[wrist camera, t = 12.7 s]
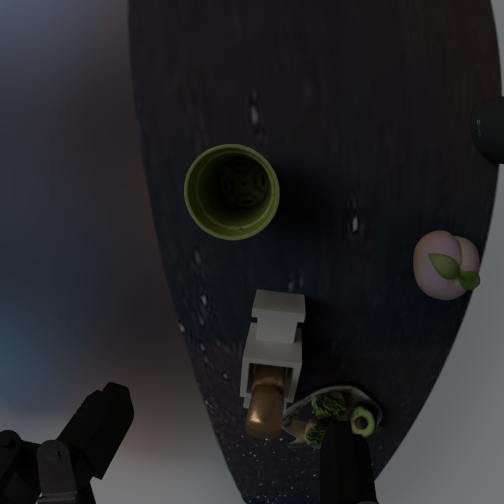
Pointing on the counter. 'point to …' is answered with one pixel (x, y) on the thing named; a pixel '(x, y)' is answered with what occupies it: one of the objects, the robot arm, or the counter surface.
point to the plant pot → (231, 192)
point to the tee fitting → (274, 340)
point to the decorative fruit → (446, 265)
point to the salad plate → (333, 413)
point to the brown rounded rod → (266, 402)
